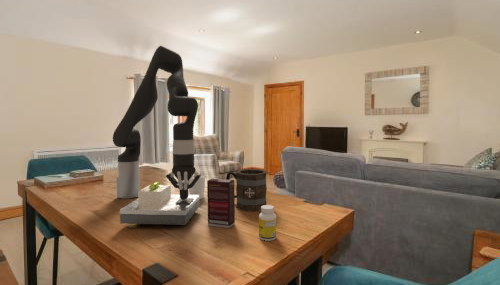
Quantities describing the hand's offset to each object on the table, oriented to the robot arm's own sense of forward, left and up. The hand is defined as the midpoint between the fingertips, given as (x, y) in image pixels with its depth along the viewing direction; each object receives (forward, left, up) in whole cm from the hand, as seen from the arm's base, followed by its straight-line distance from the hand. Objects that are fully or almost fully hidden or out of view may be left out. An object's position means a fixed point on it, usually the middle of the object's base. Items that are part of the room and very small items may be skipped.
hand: (184, 199), depth 100 cm
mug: (+21, +19, -8) cm, 30 cm away
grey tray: (-8, 0, -8) cm, 11 cm away
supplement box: (+14, -4, -8) cm, 17 cm away
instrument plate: (-8, 0, -3) cm, 8 cm away
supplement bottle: (+30, -14, -8) cm, 34 cm away
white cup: (-3, +30, -8) cm, 31 cm away
